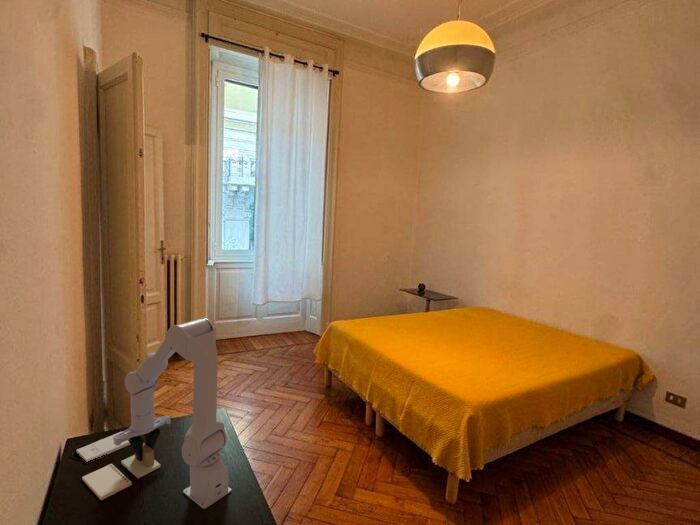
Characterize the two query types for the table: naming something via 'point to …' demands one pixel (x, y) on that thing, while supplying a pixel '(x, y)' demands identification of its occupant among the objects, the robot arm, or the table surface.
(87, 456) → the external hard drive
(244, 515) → the table surface
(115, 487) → the board
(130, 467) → the stub
